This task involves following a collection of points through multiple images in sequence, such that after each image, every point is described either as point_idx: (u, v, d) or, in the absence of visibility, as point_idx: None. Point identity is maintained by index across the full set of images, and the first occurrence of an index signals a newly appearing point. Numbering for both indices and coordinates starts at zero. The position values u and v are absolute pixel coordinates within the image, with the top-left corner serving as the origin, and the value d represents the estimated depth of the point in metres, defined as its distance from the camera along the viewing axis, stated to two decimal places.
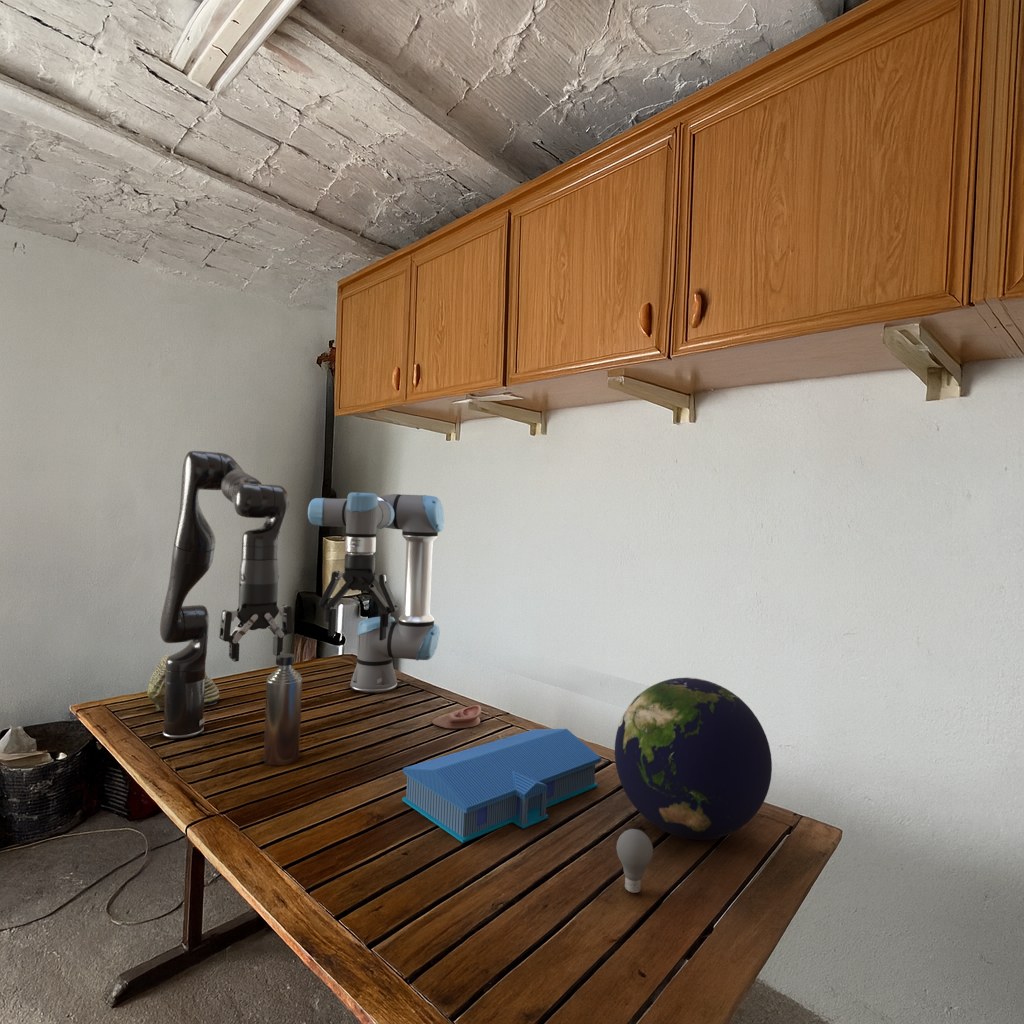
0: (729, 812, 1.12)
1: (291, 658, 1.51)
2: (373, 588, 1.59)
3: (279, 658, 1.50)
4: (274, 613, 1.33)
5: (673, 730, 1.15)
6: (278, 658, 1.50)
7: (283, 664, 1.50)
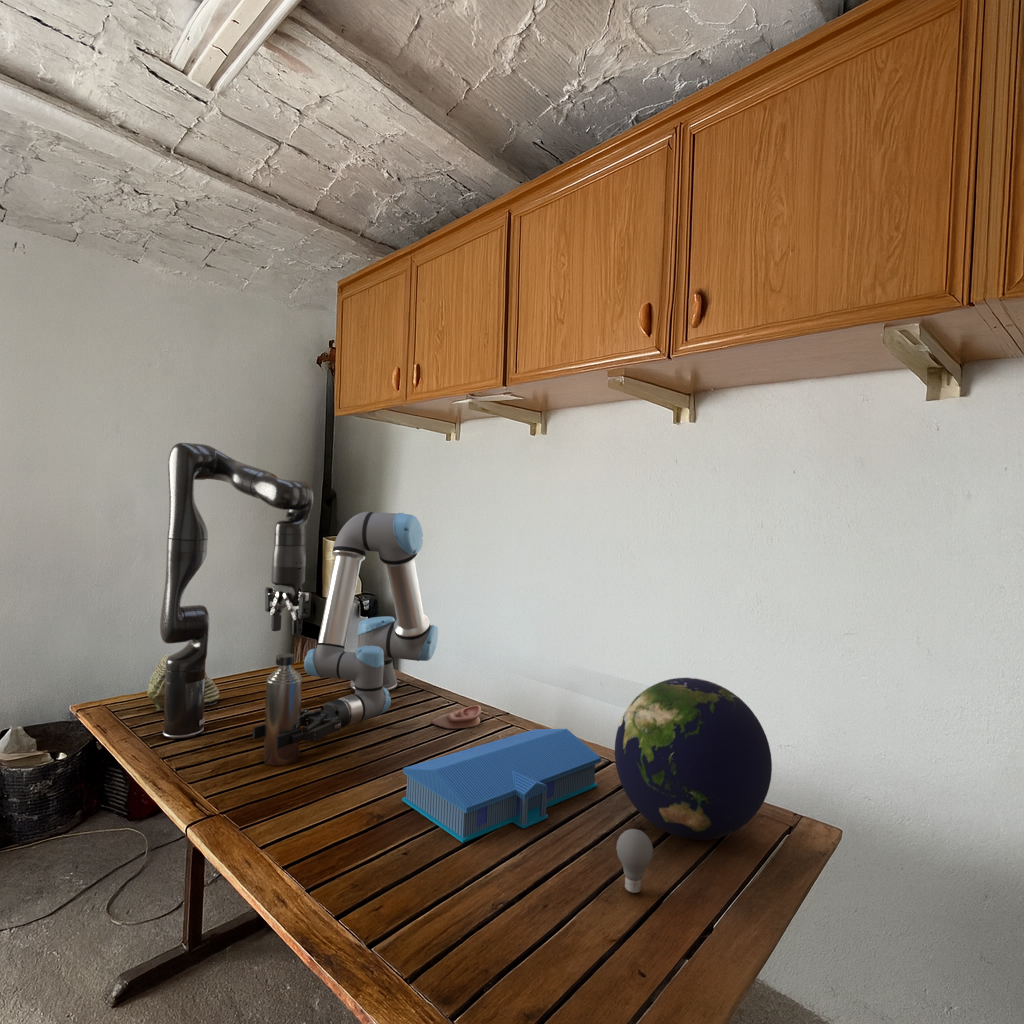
0: (729, 812, 1.12)
1: (291, 658, 1.51)
2: None
3: (279, 658, 1.50)
4: None
5: (673, 730, 1.15)
6: (278, 658, 1.50)
7: (283, 664, 1.50)
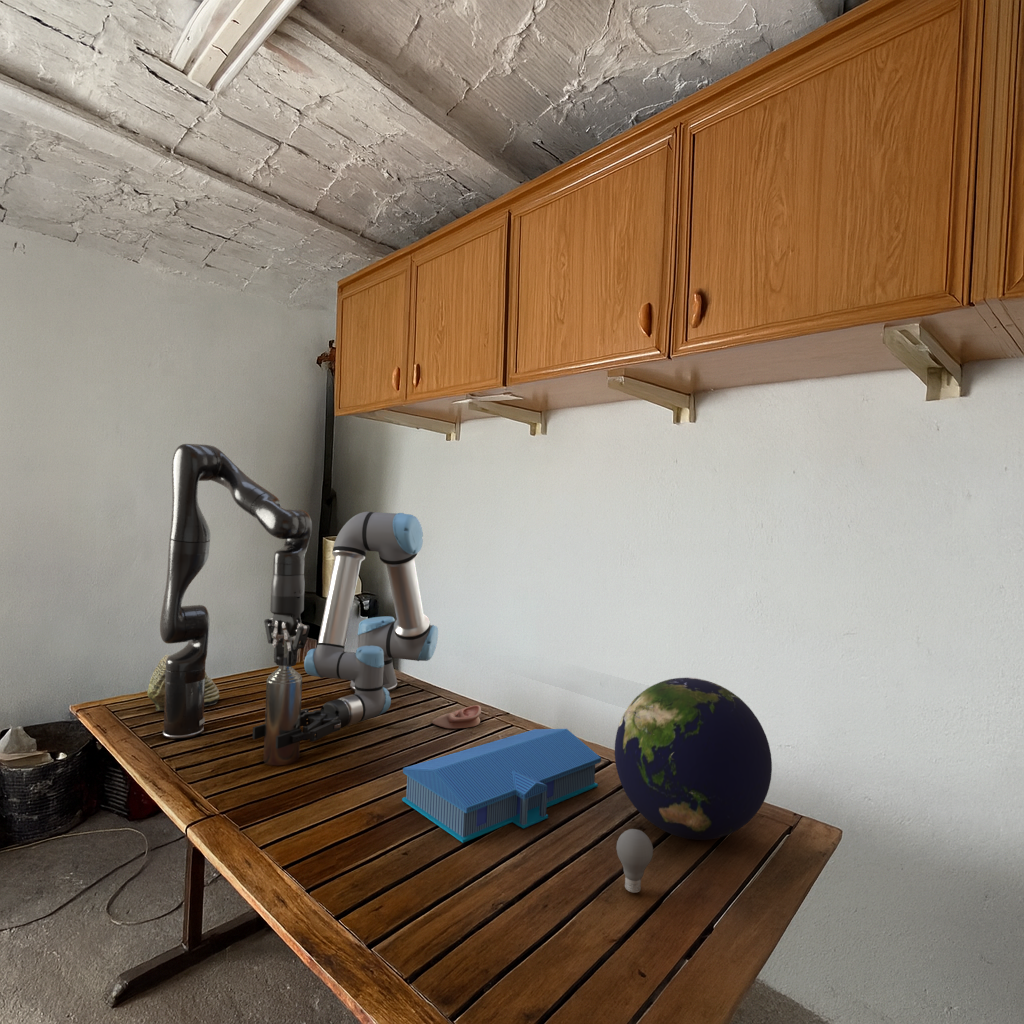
0: (729, 812, 1.12)
1: None
2: None
3: (279, 658, 1.50)
4: None
5: (673, 730, 1.15)
6: (278, 658, 1.50)
7: (283, 664, 1.50)
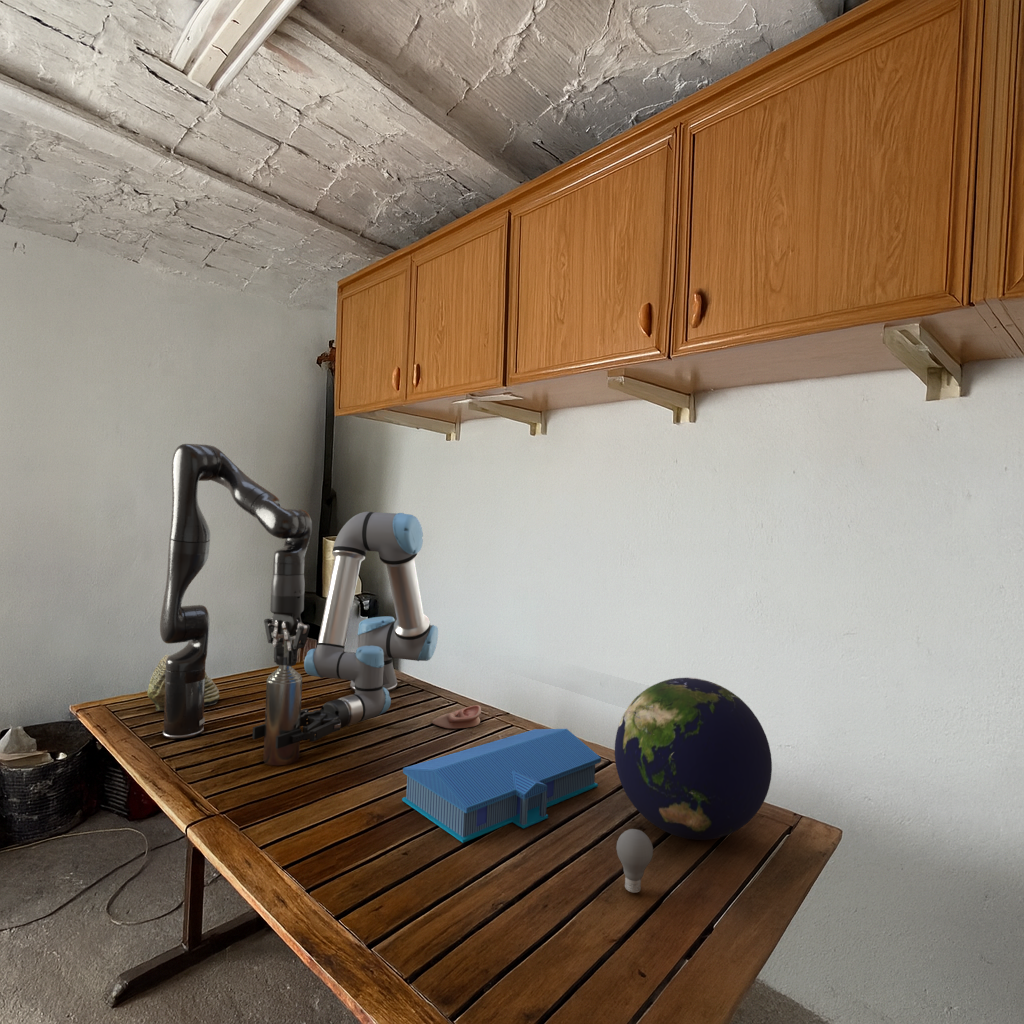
0: (729, 812, 1.12)
1: None
2: None
3: None
4: None
5: (673, 730, 1.15)
6: None
7: None
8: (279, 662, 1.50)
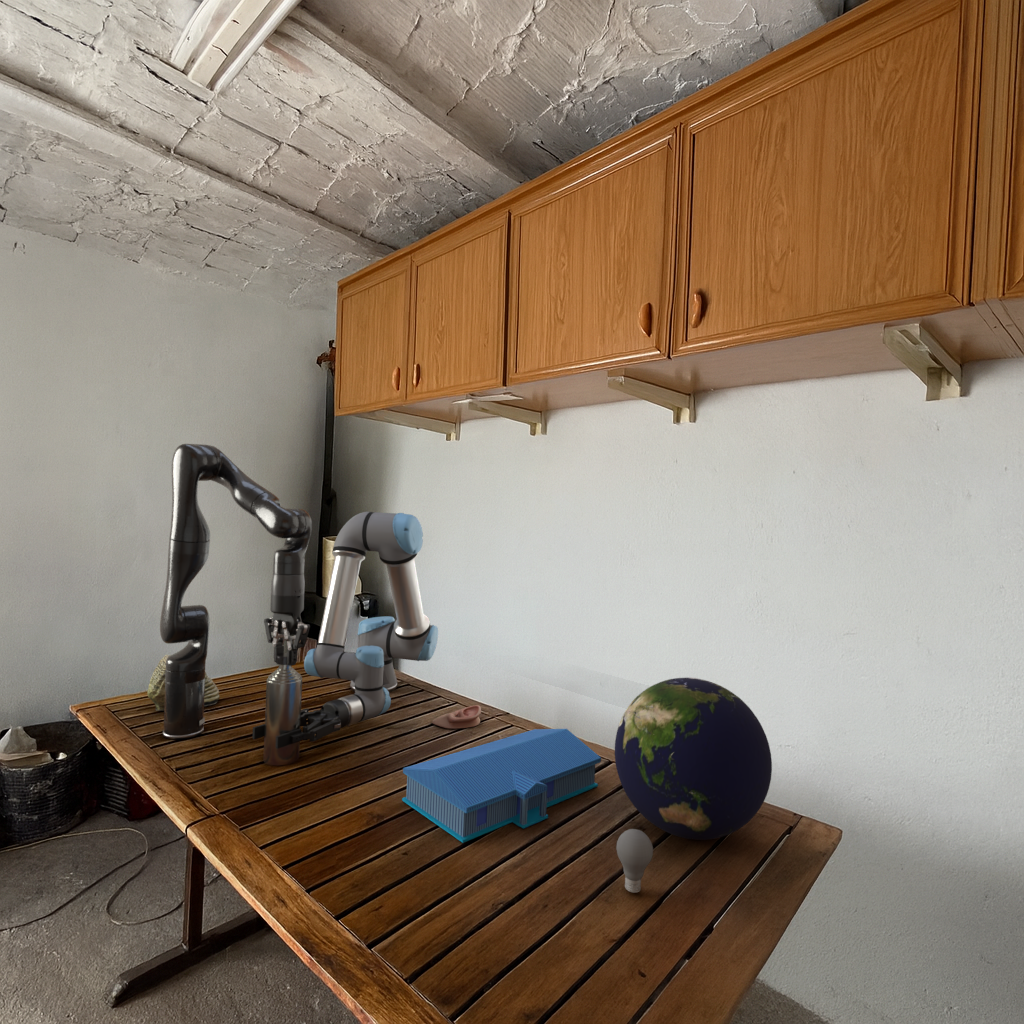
0: (729, 812, 1.12)
1: None
2: None
3: None
4: None
5: (673, 730, 1.15)
6: None
7: None
8: None
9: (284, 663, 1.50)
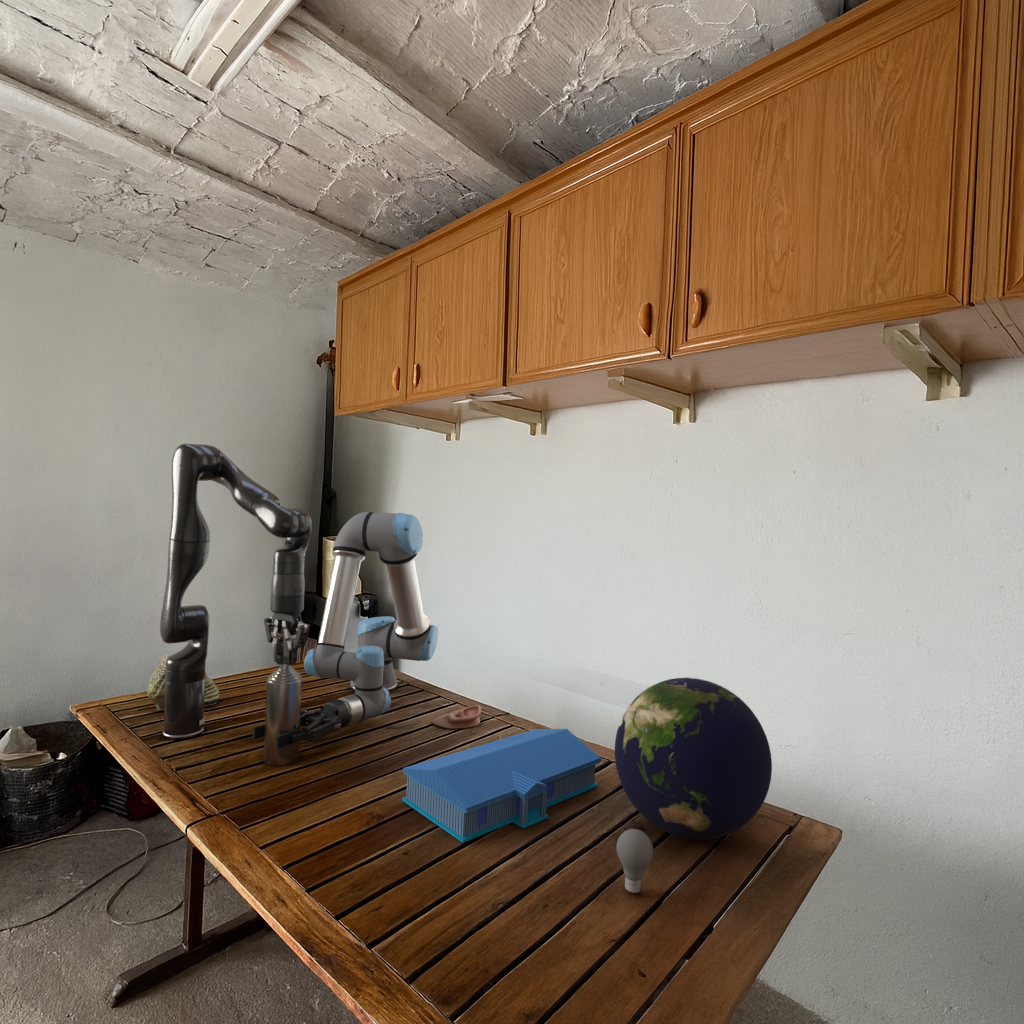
0: (729, 812, 1.12)
1: (285, 658, 1.50)
2: None
3: None
4: None
5: (673, 730, 1.15)
6: None
7: (277, 662, 1.50)
8: None
9: None
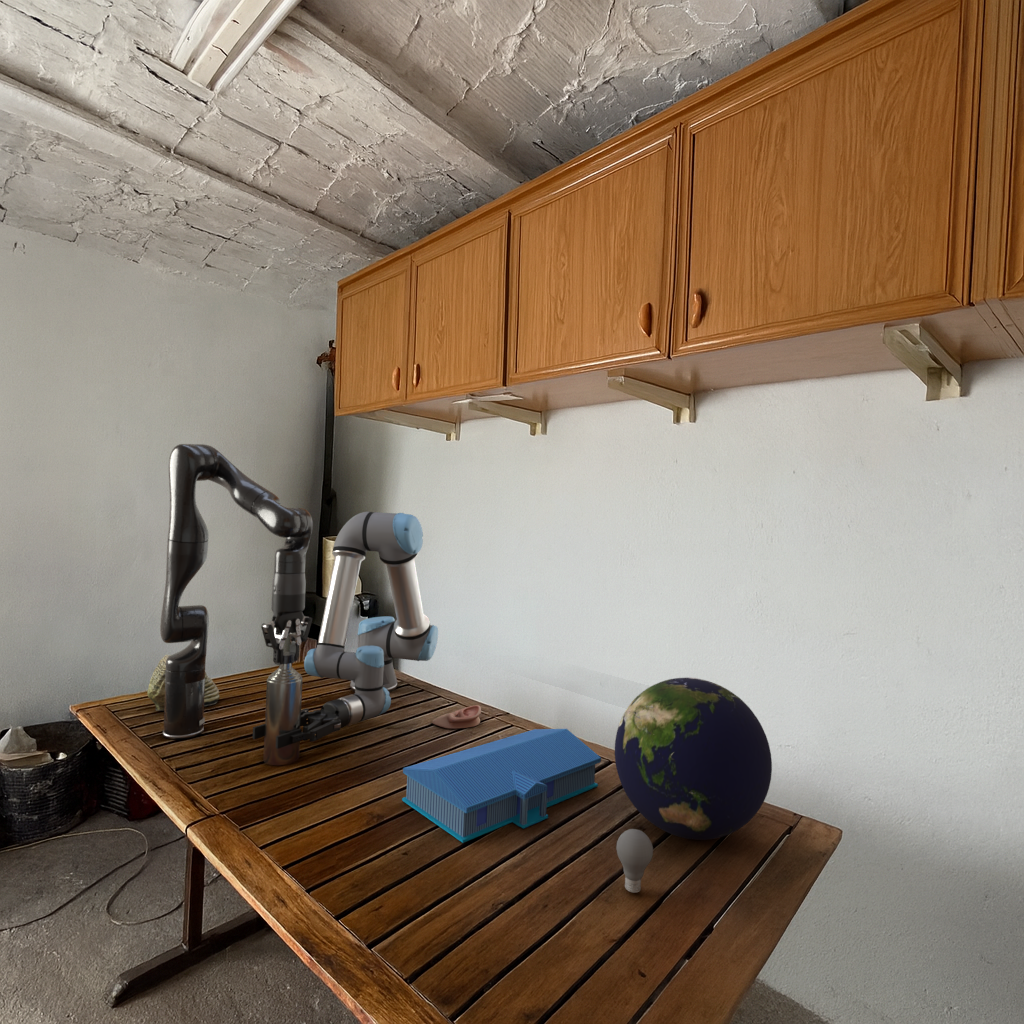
0: (729, 812, 1.12)
1: None
2: None
3: (286, 656, 1.50)
4: None
5: (673, 730, 1.15)
6: (285, 657, 1.50)
7: (291, 661, 1.51)
8: None
9: None
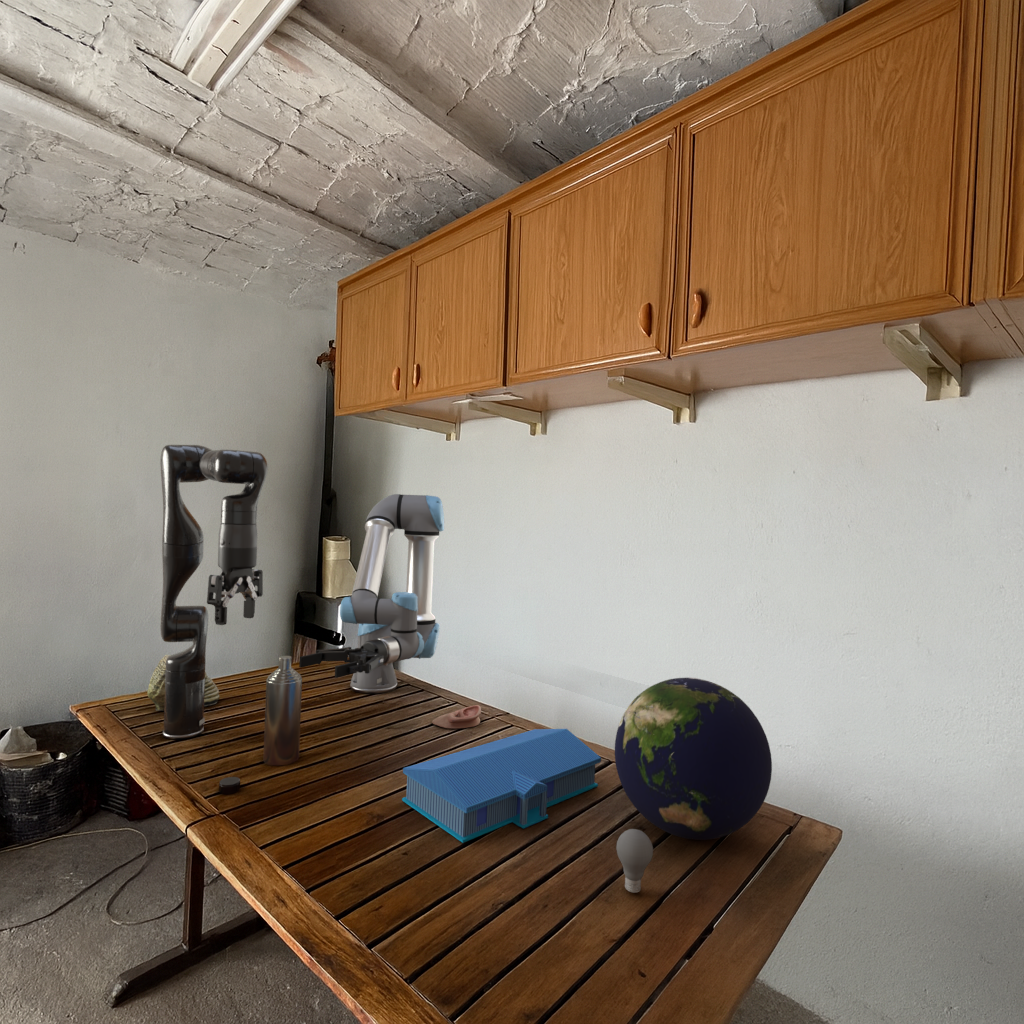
0: (729, 812, 1.12)
1: (239, 780, 1.36)
2: None
3: (231, 785, 1.33)
4: None
5: (673, 730, 1.15)
6: (230, 786, 1.33)
7: (236, 790, 1.34)
8: (219, 788, 1.34)
9: None
